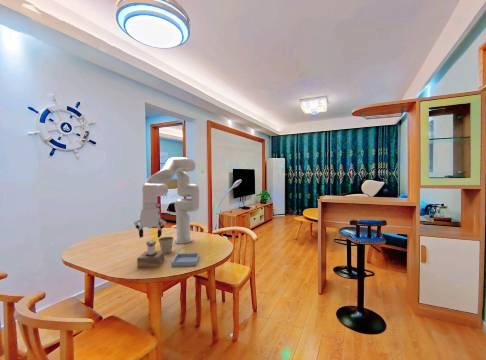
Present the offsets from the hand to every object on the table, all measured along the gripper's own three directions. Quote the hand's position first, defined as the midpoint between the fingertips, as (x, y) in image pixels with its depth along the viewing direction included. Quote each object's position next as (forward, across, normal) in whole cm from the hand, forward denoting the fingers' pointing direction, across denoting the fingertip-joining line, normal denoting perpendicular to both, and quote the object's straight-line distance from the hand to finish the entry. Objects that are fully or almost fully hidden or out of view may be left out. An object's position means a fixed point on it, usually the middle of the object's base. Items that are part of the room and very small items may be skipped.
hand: (150, 237), depth 126 cm
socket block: (+15, 0, -1) cm, 15 cm away
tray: (+15, -19, -2) cm, 24 cm away
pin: (+15, 0, -1) cm, 15 cm away
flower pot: (+15, -3, -19) cm, 24 cm away
